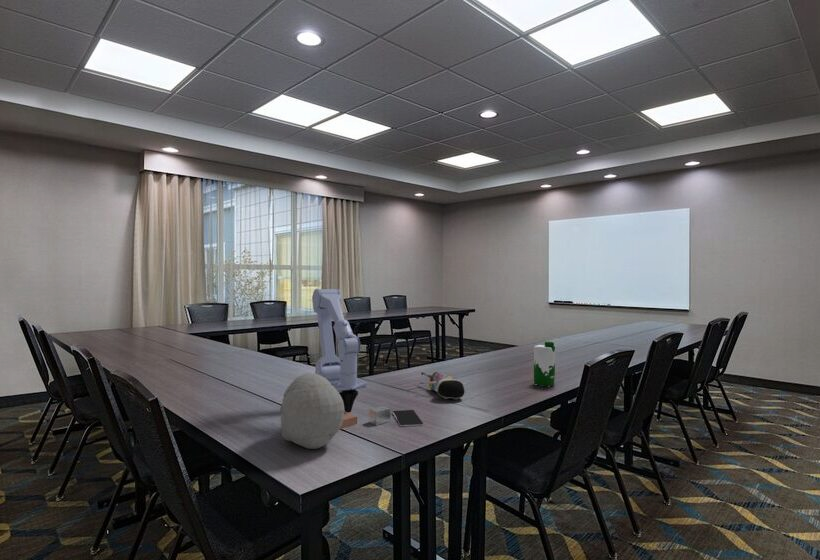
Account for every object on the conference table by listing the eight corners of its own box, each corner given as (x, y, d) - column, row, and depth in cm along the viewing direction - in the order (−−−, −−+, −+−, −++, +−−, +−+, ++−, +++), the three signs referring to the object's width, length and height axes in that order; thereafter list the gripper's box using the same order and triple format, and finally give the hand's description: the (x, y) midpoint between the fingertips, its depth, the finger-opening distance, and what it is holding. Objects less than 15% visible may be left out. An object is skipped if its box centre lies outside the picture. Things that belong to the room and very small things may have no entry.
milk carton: (550, 388, 195) (551, 343, 195) (531, 385, 201) (531, 341, 201) (556, 384, 202) (557, 341, 202) (537, 381, 208) (538, 339, 208)
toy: (408, 387, 197) (427, 401, 168) (410, 367, 197) (429, 378, 168) (456, 388, 202) (482, 402, 173) (457, 369, 203) (484, 379, 174)
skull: (321, 422, 145) (322, 362, 144) (350, 451, 121) (351, 379, 121) (269, 430, 136) (270, 366, 136) (289, 462, 113) (290, 385, 113)
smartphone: (400, 425, 141) (391, 410, 156) (400, 429, 141) (391, 414, 156) (424, 423, 143) (413, 409, 157) (424, 427, 143) (413, 412, 157)
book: (312, 420, 147) (312, 411, 147) (331, 415, 153) (332, 407, 153) (337, 431, 137) (337, 421, 137) (357, 425, 143) (357, 416, 143)
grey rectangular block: (368, 422, 145) (369, 409, 145) (382, 418, 149) (382, 405, 149) (376, 425, 142) (376, 411, 142) (390, 421, 146) (390, 408, 146)
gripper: (337, 377, 142) (336, 418, 142) (372, 371, 152) (371, 410, 152) (325, 373, 147) (324, 413, 147) (360, 368, 157) (359, 405, 157)
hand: (347, 411), depth 150 cm, fingers closed
